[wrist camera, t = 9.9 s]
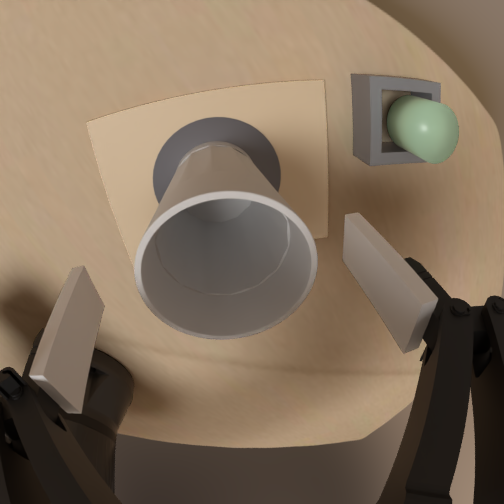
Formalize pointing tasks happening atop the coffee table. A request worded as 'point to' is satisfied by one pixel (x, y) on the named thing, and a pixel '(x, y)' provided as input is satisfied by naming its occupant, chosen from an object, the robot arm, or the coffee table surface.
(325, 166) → the sheet
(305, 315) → the coffee table surface
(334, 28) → the coffee table surface
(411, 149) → the button
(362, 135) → the button housing
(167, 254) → the cup
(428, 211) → the coffee table surface
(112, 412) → the robot arm
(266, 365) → the coffee table surface
